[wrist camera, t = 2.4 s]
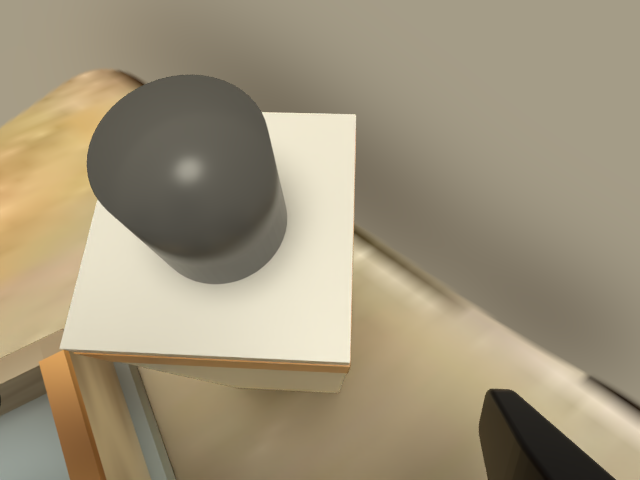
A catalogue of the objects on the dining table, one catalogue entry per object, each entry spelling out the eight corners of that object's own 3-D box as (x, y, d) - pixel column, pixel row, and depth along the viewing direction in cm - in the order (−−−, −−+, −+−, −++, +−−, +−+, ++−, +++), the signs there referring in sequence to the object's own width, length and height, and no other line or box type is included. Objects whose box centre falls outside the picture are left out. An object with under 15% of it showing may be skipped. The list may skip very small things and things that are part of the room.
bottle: (339, 393, 17) (359, 342, 4) (236, 388, 17) (-66, 324, 4) (342, 292, 19) (365, 12, 5) (247, 288, 19) (49, 8, 6)
